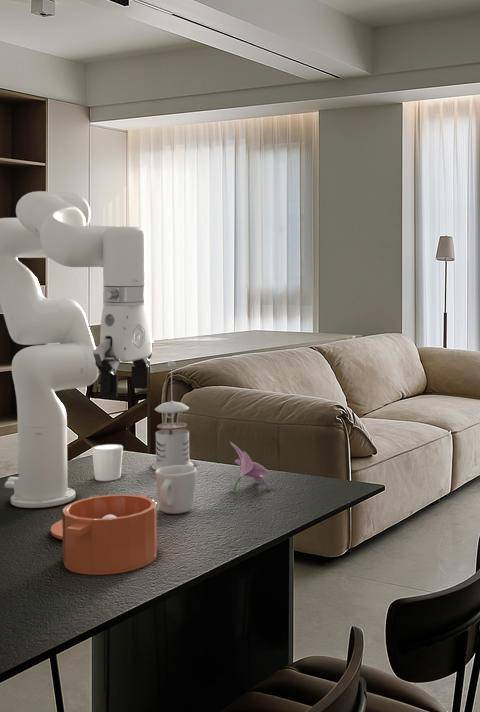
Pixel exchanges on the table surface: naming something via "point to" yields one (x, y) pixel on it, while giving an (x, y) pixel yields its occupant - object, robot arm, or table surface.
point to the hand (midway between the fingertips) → (124, 392)
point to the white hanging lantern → (172, 436)
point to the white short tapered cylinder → (107, 461)
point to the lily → (250, 467)
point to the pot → (109, 534)
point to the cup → (176, 488)
